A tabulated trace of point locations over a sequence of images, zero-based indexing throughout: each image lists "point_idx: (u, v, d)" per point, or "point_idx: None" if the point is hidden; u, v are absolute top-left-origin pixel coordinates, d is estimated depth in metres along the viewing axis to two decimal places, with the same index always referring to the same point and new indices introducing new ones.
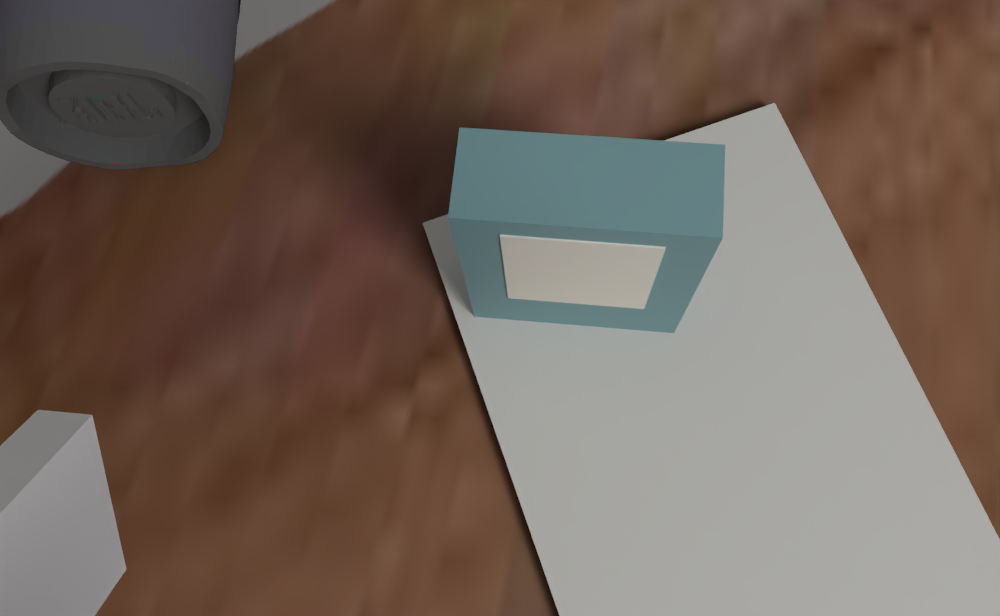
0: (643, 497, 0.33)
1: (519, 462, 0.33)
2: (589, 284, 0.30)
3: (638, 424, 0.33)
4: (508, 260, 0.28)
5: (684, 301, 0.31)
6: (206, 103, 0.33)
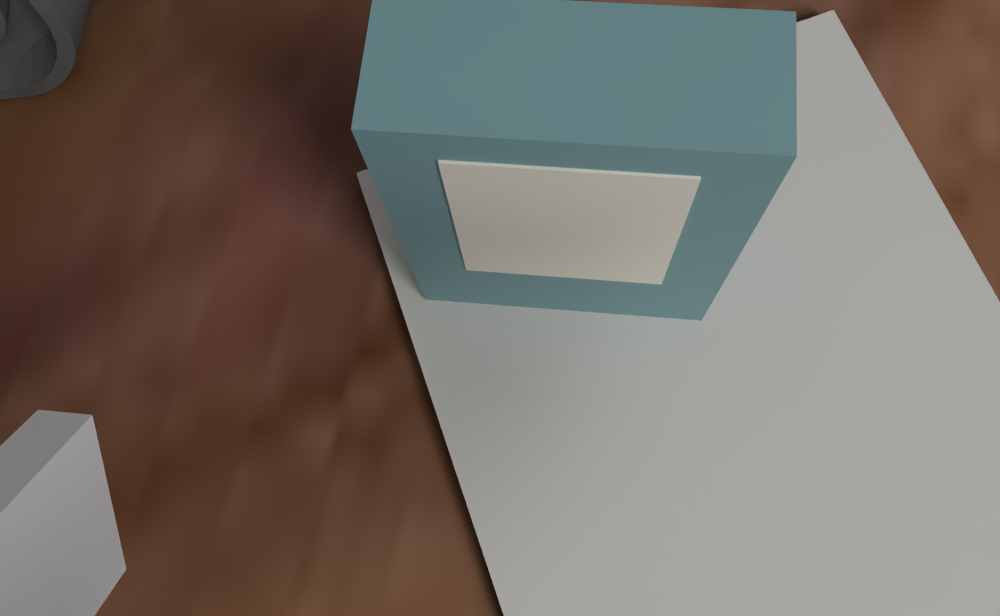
0: (661, 553, 0.23)
1: (485, 503, 0.24)
2: (581, 245, 0.20)
3: (653, 449, 0.24)
4: (457, 207, 0.19)
5: (721, 271, 0.21)
6: None
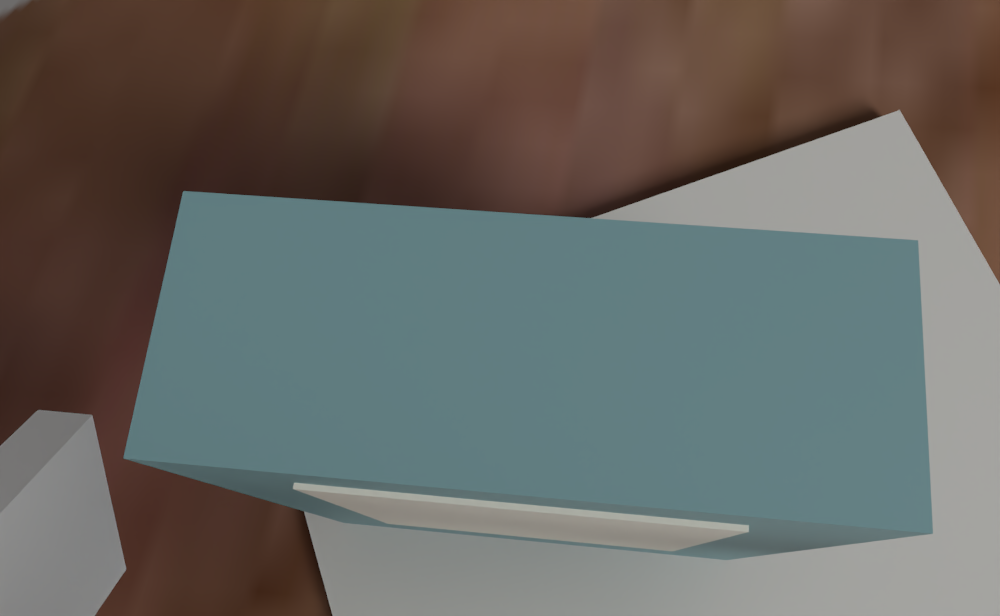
0: None
1: None
2: (551, 532, 0.13)
3: None
4: (348, 505, 0.12)
5: (763, 553, 0.14)
6: None
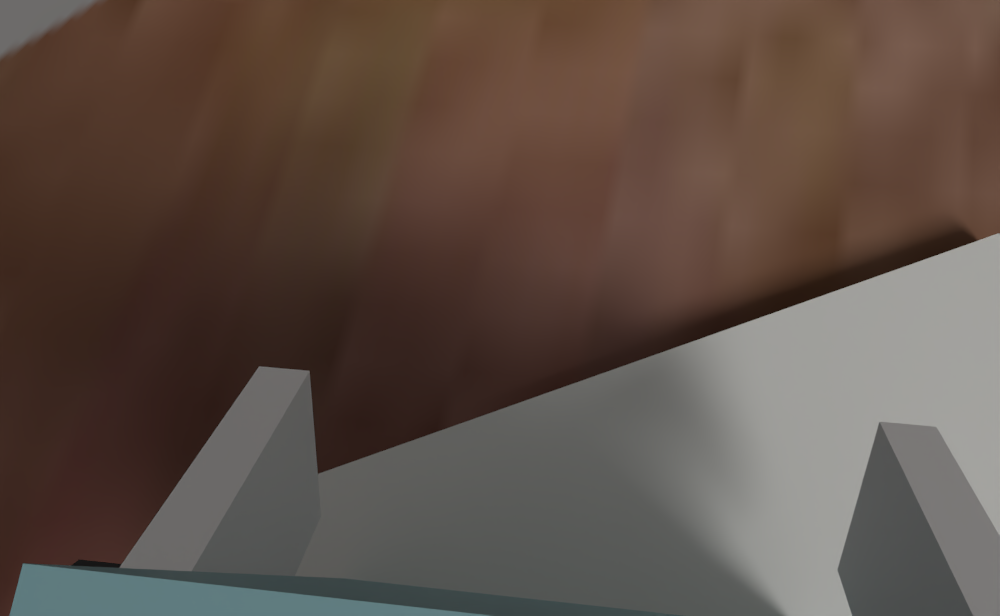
0: None
1: None
2: None
3: None
4: None
5: None
6: None
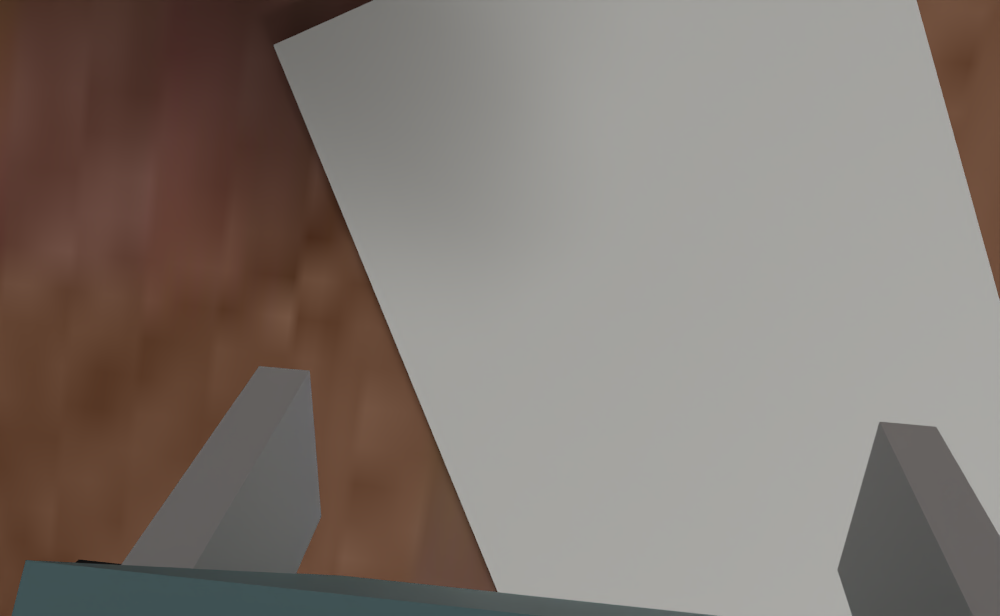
0: (586, 436, 0.25)
1: (430, 388, 0.26)
2: None
3: (584, 346, 0.25)
4: None
5: None
6: None
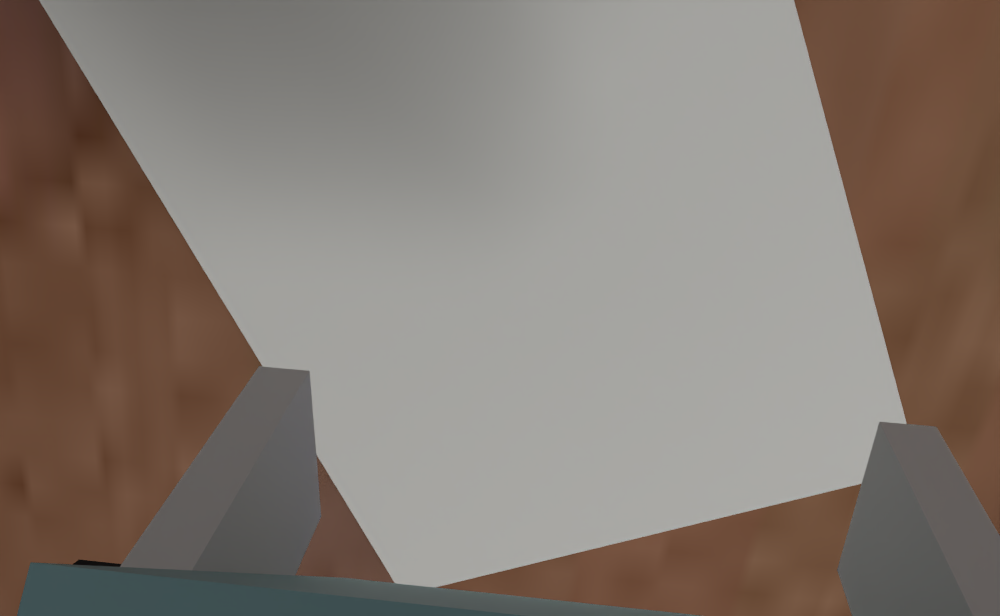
0: (413, 341, 0.24)
1: (240, 299, 0.24)
2: None
3: (398, 248, 0.22)
4: None
5: None
6: None
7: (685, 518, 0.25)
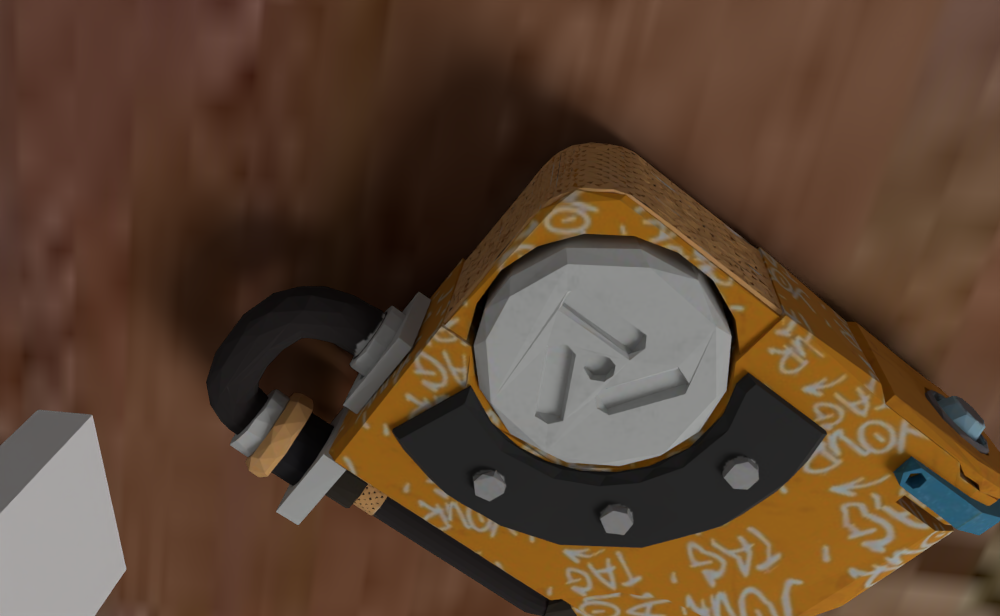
0: None
1: None
2: None
3: None
4: None
5: None
6: None
7: None
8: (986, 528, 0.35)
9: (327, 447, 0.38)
